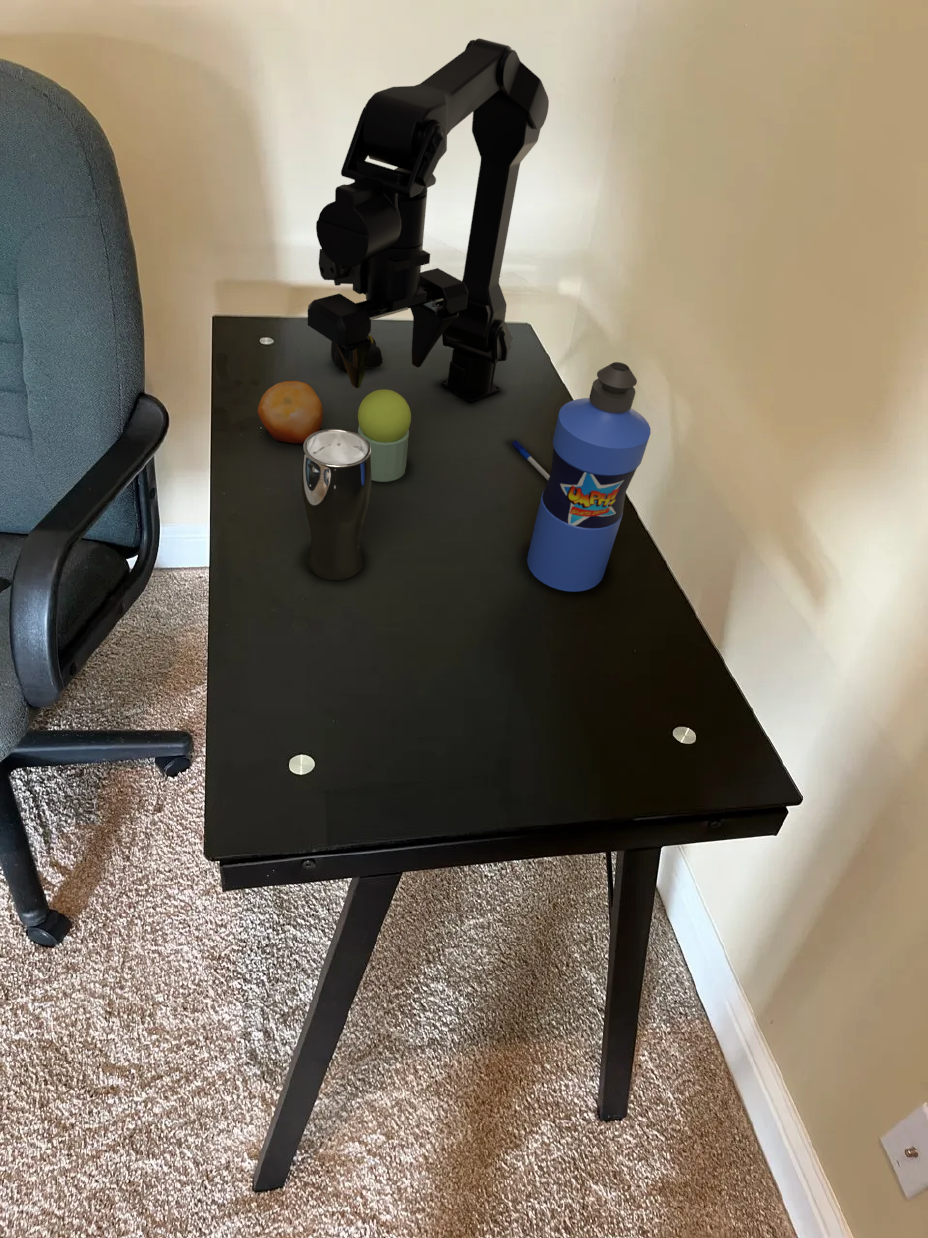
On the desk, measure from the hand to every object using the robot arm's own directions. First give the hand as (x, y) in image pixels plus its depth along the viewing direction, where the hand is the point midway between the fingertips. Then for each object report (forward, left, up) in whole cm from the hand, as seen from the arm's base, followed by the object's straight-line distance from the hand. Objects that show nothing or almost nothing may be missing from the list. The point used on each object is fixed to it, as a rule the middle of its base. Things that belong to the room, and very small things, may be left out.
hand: (386, 375), depth 96 cm
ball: (0, 0, -5) cm, 5 cm away
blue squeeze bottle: (-5, +27, -13) cm, 30 cm away
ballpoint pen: (-17, +11, -13) cm, 24 cm away
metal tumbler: (+16, +11, -13) cm, 23 cm away
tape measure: (-14, -22, -13) cm, 29 cm away
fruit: (+5, -12, -13) cm, 18 cm away
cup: (0, 0, -13) cm, 13 cm away
